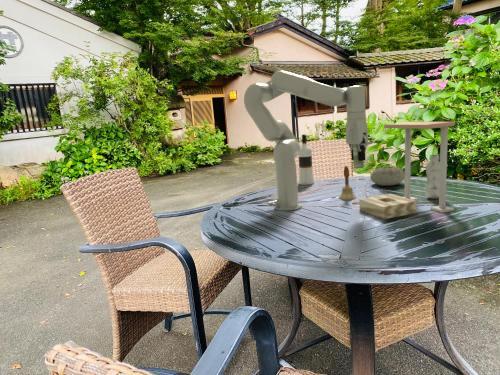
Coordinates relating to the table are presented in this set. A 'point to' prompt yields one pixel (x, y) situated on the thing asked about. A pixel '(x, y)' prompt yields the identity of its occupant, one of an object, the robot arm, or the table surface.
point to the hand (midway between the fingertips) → (358, 159)
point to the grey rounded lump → (387, 176)
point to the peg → (355, 155)
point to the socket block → (388, 206)
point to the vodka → (305, 164)
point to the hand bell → (347, 187)
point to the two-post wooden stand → (443, 158)
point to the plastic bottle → (433, 177)
